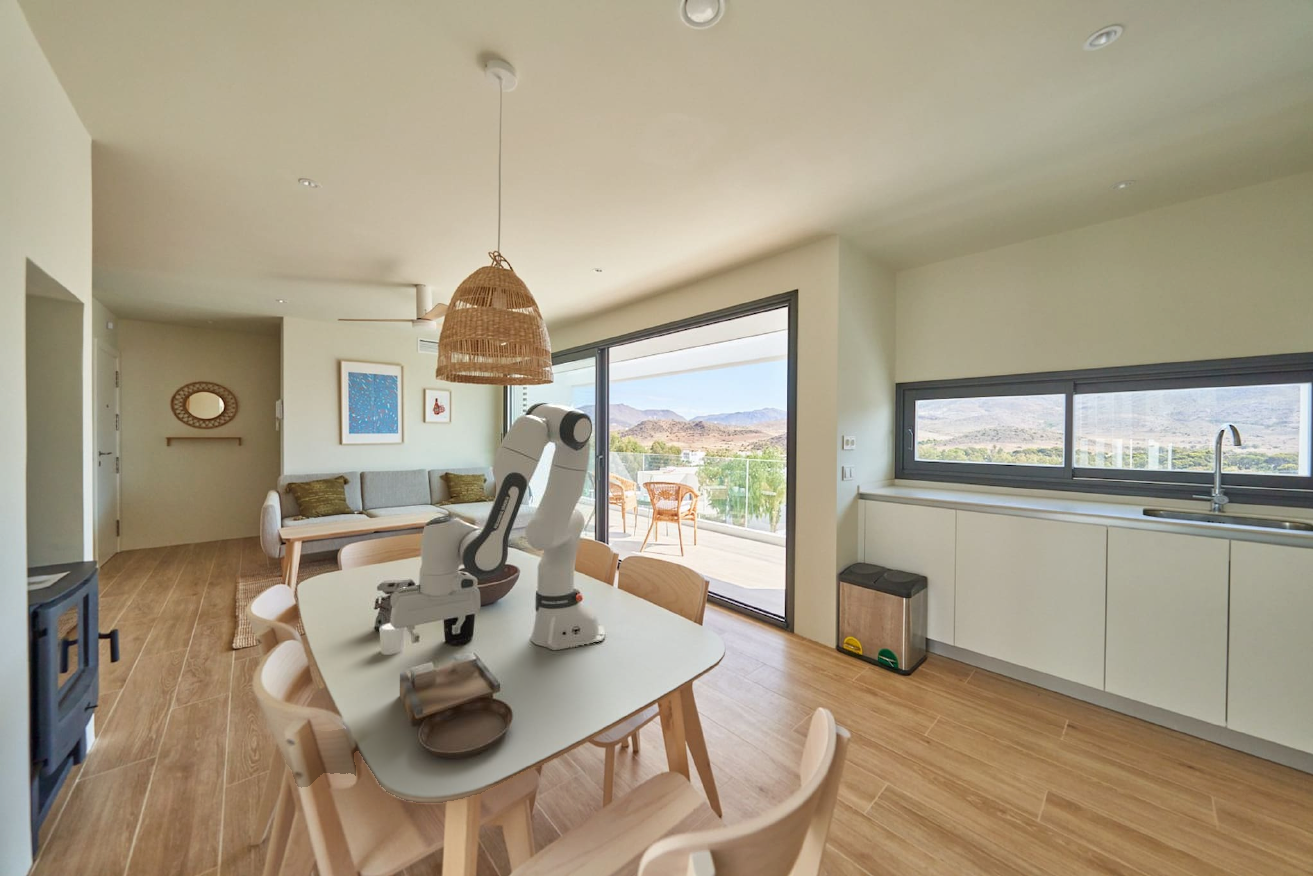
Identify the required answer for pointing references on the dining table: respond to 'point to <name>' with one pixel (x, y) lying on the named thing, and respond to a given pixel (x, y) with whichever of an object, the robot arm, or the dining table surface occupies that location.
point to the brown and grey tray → (446, 691)
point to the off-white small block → (423, 675)
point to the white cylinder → (391, 639)
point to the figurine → (388, 600)
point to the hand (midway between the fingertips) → (436, 637)
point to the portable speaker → (465, 630)
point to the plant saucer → (466, 728)
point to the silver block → (464, 663)
